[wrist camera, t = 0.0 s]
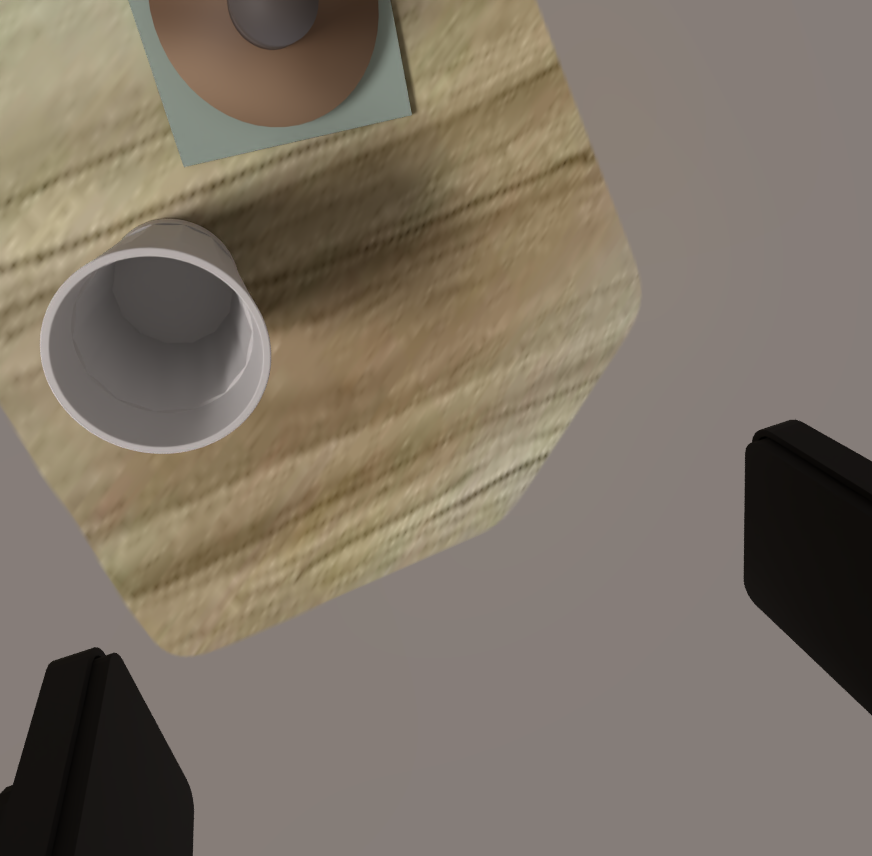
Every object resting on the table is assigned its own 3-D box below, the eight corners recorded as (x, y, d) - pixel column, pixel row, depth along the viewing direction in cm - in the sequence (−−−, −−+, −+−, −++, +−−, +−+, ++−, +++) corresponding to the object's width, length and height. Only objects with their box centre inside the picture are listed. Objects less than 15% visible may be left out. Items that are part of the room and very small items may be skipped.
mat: (87, -123, 30) (86, -126, 30) (356, -167, 32) (358, -170, 31) (184, 166, 35) (183, 167, 35) (410, 114, 37) (411, 114, 37)
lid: (112, -107, 30) (94, -140, 26) (346, -146, 32) (366, -183, 27) (194, 147, 35) (191, 155, 30) (394, 102, 36) (419, 104, 32)
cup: (215, 177, 36) (215, 214, 25) (279, 323, 40) (302, 407, 29) (58, 235, 35) (-9, 297, 24) (138, 378, 39) (111, 485, 28)
